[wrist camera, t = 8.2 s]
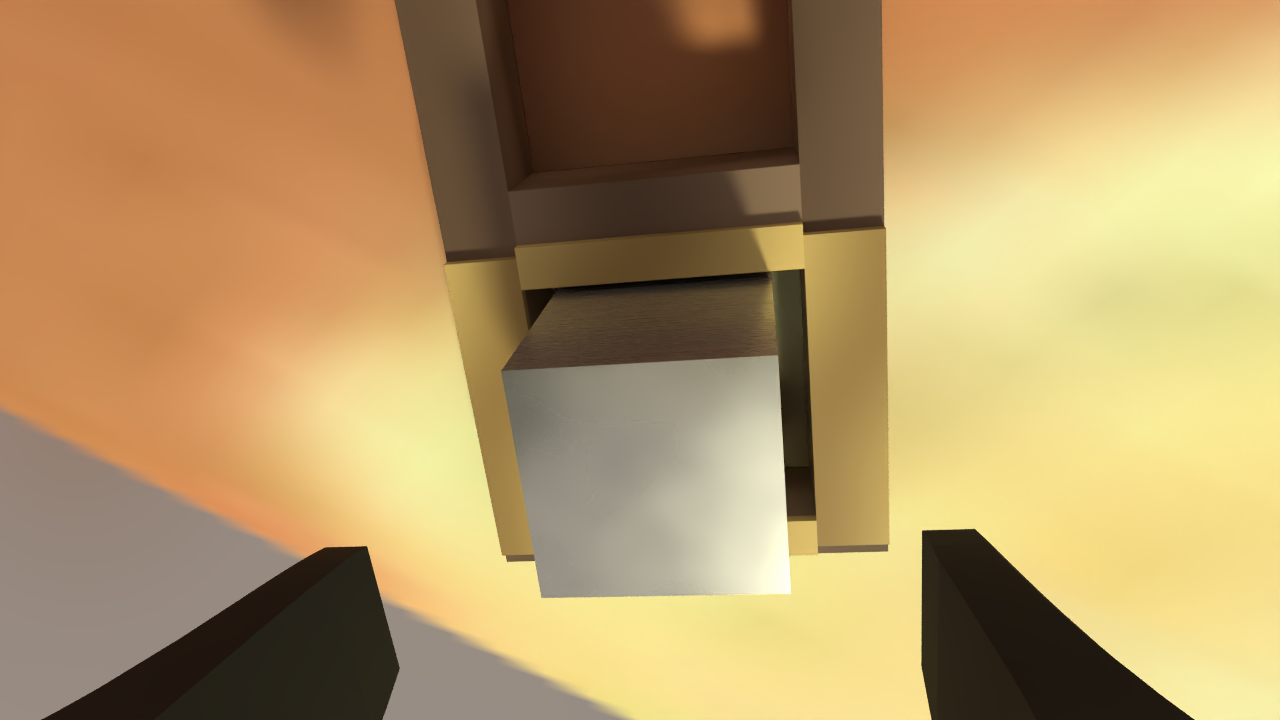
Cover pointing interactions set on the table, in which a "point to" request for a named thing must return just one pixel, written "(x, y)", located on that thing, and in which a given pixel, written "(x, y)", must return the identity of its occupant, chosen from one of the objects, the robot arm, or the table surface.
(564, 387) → the metal peg
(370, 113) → the table surface
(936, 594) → the robot arm
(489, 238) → the beige slotted frame
